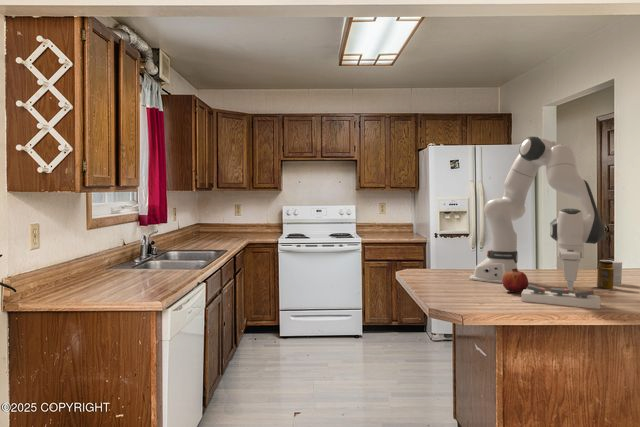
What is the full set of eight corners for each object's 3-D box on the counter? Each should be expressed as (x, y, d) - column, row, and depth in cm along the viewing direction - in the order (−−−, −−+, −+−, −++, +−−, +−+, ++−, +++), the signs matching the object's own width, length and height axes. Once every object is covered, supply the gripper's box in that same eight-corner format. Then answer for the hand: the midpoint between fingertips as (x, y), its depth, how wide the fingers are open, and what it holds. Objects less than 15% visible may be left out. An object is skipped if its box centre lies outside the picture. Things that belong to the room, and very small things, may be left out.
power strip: (521, 301, 183) (521, 292, 182) (523, 296, 190) (523, 288, 190) (600, 308, 170) (600, 299, 170) (599, 303, 178) (599, 294, 178)
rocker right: (575, 296, 175) (574, 292, 175) (575, 294, 179) (574, 290, 179) (594, 294, 172) (593, 290, 172) (593, 292, 176) (592, 288, 176)
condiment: (617, 289, 207) (618, 261, 207) (607, 291, 203) (608, 263, 202) (599, 286, 213) (600, 259, 213) (589, 288, 209) (590, 261, 208)
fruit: (528, 295, 192) (529, 271, 192) (502, 294, 196) (502, 269, 195) (527, 291, 202) (527, 267, 202) (501, 289, 206) (502, 266, 205)
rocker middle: (550, 292, 179) (550, 288, 179) (551, 290, 182) (551, 287, 182) (568, 294, 176) (568, 290, 176) (568, 292, 180) (569, 288, 180)
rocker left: (527, 288, 183) (528, 285, 183) (528, 287, 186) (529, 283, 186) (544, 293, 180) (545, 290, 180) (544, 291, 184) (545, 288, 183)
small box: (598, 282, 223) (598, 260, 222) (609, 282, 223) (610, 259, 223) (609, 285, 215) (610, 262, 214) (621, 285, 215) (622, 262, 215)
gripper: (561, 250, 188) (561, 285, 188) (560, 254, 170) (560, 293, 170) (579, 250, 185) (579, 286, 185) (580, 255, 167) (580, 295, 167)
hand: (570, 289), depth 177 cm, fingers closed, pressing on rocker middle
